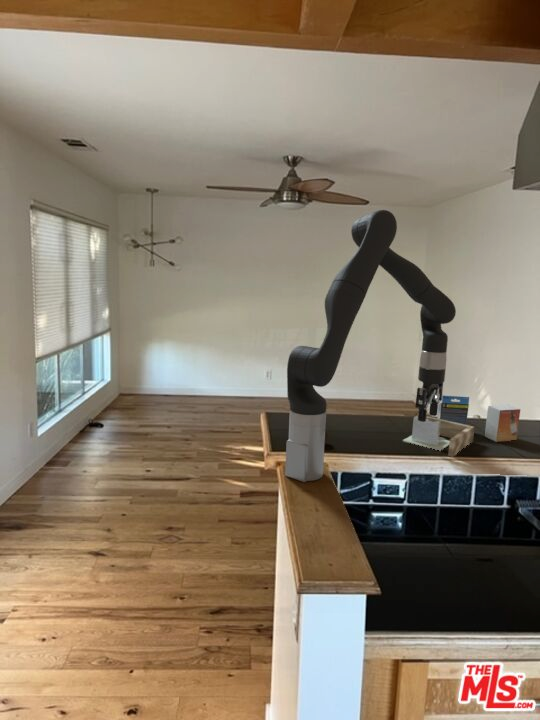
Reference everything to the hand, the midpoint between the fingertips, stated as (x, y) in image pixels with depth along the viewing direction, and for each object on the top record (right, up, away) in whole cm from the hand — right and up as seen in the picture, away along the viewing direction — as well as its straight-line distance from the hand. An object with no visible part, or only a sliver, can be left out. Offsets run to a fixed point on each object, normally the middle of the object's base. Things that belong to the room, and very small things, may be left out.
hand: (427, 418), depth 154 cm
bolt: (-35, -7, +5) cm, 36 cm away
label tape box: (+13, -6, +16) cm, 21 cm away
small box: (+26, -8, +9) cm, 29 cm away
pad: (+1, -8, +4) cm, 9 cm away
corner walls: (+3, -8, +4) cm, 9 cm away
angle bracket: (+1, -8, +4) cm, 8 cm away
